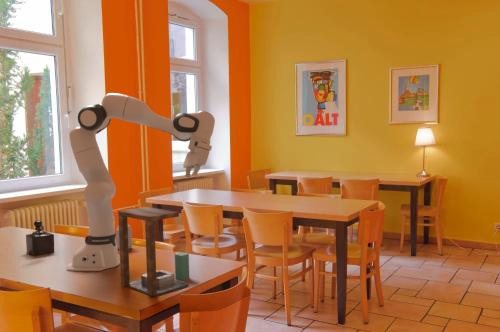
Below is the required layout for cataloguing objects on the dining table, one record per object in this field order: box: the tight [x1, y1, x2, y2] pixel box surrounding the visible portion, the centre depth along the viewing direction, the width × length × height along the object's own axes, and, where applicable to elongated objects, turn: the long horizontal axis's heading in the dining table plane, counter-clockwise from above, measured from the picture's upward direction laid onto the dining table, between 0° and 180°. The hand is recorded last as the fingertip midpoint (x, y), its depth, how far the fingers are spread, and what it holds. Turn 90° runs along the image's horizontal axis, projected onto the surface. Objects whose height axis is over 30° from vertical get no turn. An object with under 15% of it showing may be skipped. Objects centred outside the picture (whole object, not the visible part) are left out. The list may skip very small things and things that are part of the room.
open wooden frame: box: [117, 206, 180, 297], centre depth 186 cm, size 13×21×29 cm, turn 46°
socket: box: [123, 269, 189, 298], centre depth 189 cm, size 16×20×4 cm
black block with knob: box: [25, 219, 55, 257], centre depth 242 cm, size 16×11×18 cm
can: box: [115, 224, 133, 251], centre depth 250 cm, size 8×8×12 cm
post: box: [174, 252, 190, 281], centre depth 198 cm, size 4×4×10 cm
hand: (190, 176), depth 212 cm, fingers open, 8 cm apart
